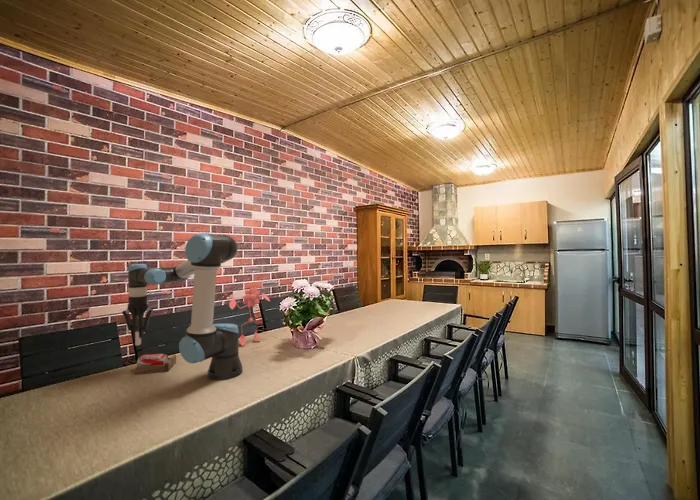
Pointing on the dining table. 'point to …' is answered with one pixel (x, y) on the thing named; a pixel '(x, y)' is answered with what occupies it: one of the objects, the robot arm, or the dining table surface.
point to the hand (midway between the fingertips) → (138, 344)
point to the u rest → (157, 367)
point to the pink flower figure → (251, 300)
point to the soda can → (152, 359)
